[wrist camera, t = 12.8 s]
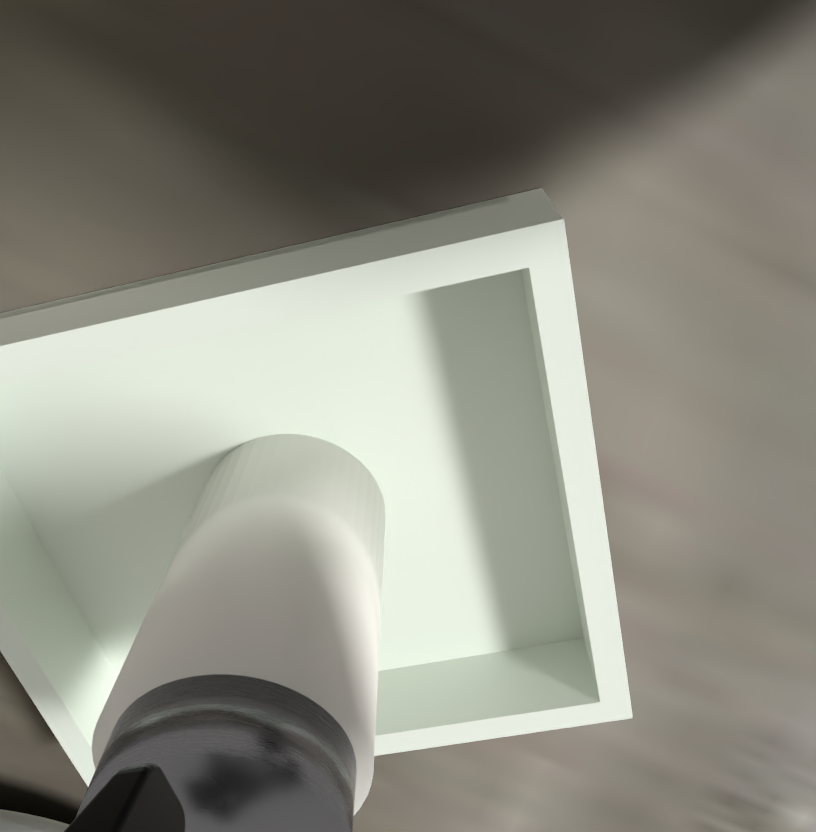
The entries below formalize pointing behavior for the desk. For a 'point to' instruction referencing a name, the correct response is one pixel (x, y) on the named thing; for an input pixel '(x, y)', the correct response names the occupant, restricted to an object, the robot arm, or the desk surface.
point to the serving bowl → (28, 823)
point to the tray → (345, 427)
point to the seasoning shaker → (261, 647)
